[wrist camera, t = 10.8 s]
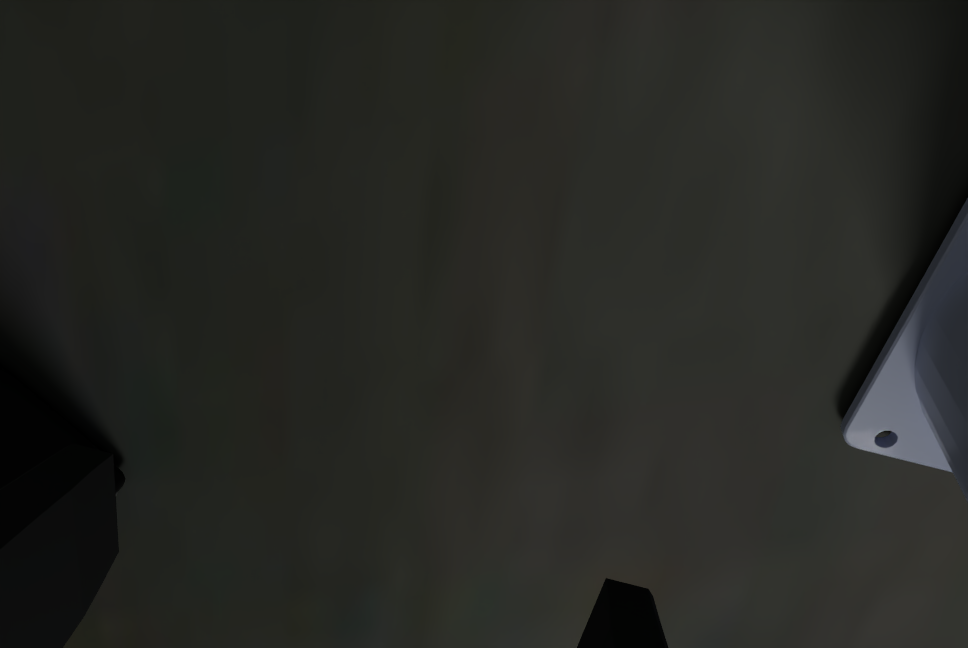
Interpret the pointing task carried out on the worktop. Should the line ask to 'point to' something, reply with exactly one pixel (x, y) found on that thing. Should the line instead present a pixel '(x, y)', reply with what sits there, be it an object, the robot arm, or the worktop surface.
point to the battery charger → (32, 432)
